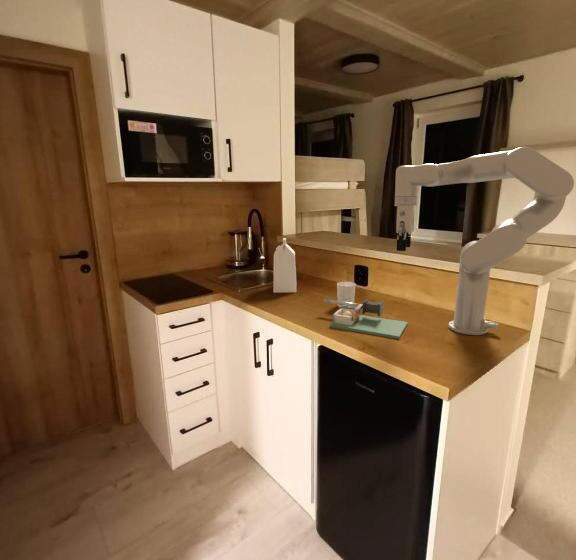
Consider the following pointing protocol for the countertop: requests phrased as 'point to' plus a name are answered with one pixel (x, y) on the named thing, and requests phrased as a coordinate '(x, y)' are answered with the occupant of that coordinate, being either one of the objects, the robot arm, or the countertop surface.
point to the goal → (342, 316)
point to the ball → (347, 313)
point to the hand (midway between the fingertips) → (403, 248)
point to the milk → (284, 269)
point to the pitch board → (374, 326)
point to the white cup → (346, 292)
